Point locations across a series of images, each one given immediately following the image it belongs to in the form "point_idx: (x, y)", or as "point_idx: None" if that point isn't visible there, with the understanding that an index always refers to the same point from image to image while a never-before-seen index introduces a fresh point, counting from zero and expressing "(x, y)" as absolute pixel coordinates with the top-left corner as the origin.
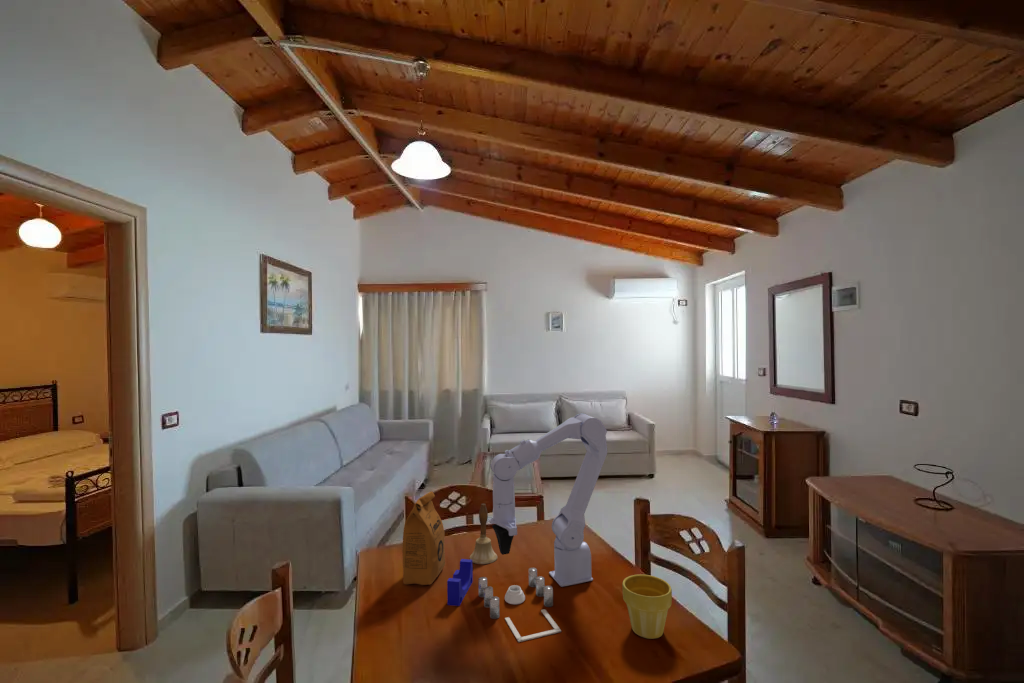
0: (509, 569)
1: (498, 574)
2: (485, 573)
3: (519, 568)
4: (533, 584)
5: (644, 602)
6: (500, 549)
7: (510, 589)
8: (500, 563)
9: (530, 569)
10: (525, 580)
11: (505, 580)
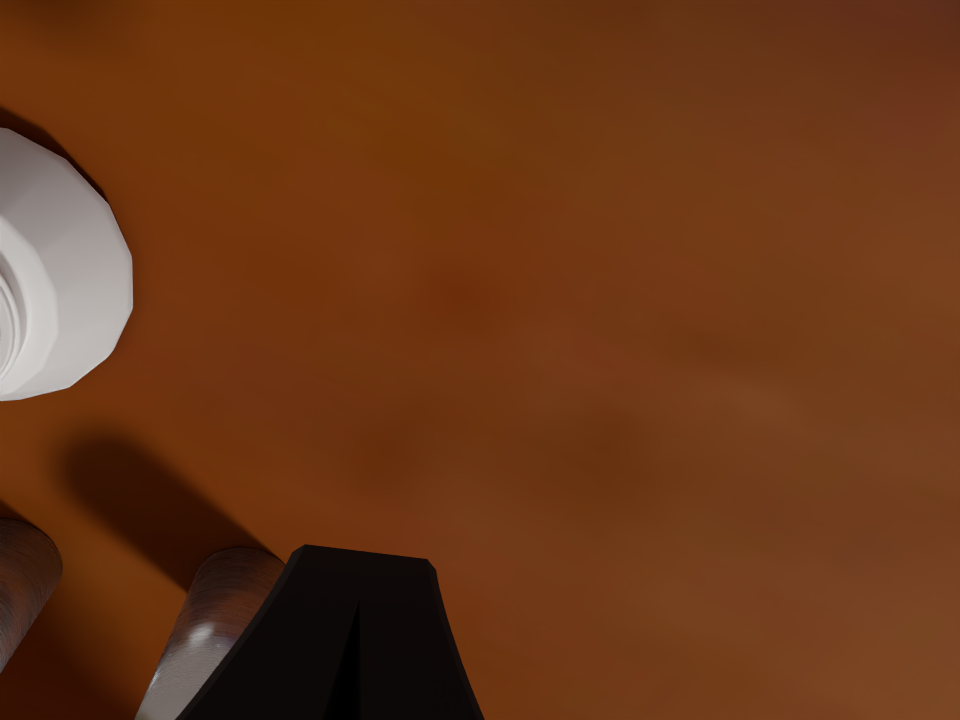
0: (735, 536)
1: (713, 373)
2: (856, 236)
3: (680, 633)
4: (188, 592)
5: None
6: (298, 615)
7: (9, 270)
8: (944, 515)
9: None
10: None
11: (517, 379)
